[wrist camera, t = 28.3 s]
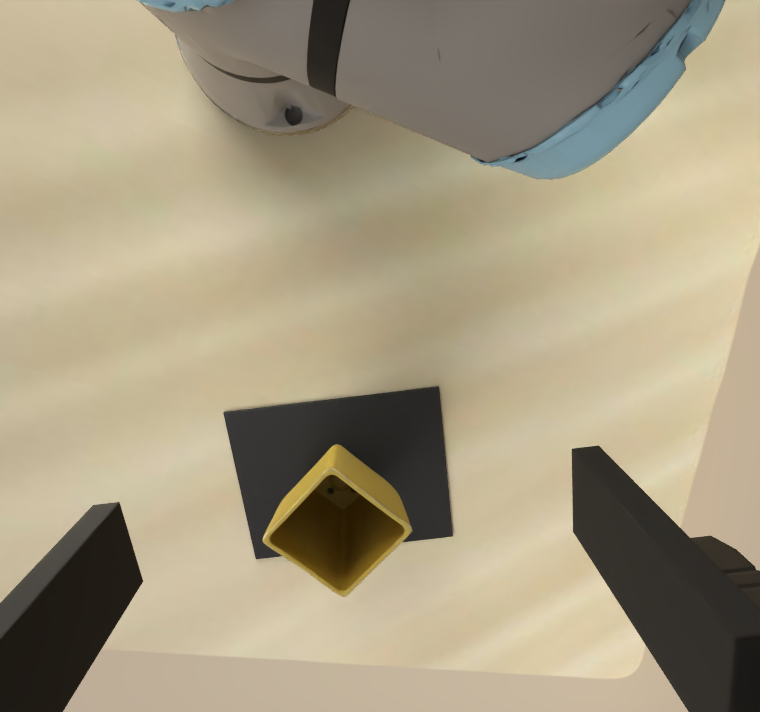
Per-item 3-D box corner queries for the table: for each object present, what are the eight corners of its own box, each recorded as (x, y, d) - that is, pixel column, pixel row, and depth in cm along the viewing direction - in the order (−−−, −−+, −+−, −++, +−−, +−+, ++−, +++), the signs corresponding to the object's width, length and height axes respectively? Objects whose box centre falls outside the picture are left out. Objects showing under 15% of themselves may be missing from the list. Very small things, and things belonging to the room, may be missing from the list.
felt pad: (438, 386, 46) (438, 387, 46) (452, 535, 50) (452, 536, 50) (224, 412, 46) (223, 413, 46) (256, 557, 51) (255, 559, 50)
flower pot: (407, 474, 48) (415, 531, 40) (348, 533, 50) (343, 600, 41) (337, 418, 46) (330, 465, 38) (278, 482, 48) (258, 541, 39)
